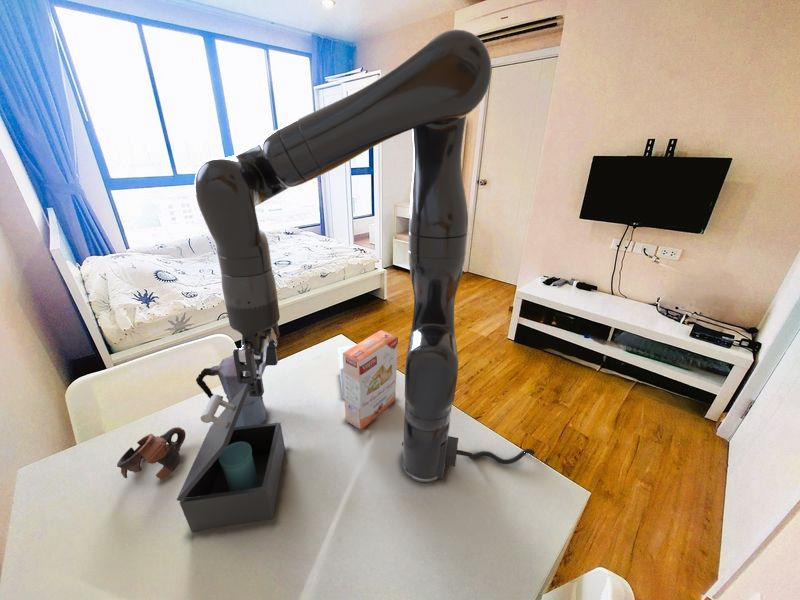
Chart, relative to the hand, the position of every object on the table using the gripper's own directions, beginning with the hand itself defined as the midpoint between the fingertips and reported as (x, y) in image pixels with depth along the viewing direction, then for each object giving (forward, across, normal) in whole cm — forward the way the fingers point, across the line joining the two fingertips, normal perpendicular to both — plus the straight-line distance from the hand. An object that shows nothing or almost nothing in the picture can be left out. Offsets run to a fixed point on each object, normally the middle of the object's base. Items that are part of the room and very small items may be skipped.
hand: (264, 378), depth 57 cm
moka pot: (+26, +15, +12) cm, 32 cm away
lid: (+11, -3, +9) cm, 14 cm away
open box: (+25, -3, +6) cm, 26 cm away
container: (+24, -3, +6) cm, 25 cm away
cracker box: (+25, +17, -19) cm, 36 cm away
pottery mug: (+26, +4, +26) cm, 37 cm away
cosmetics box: (+25, +28, -13) cm, 40 cm away
